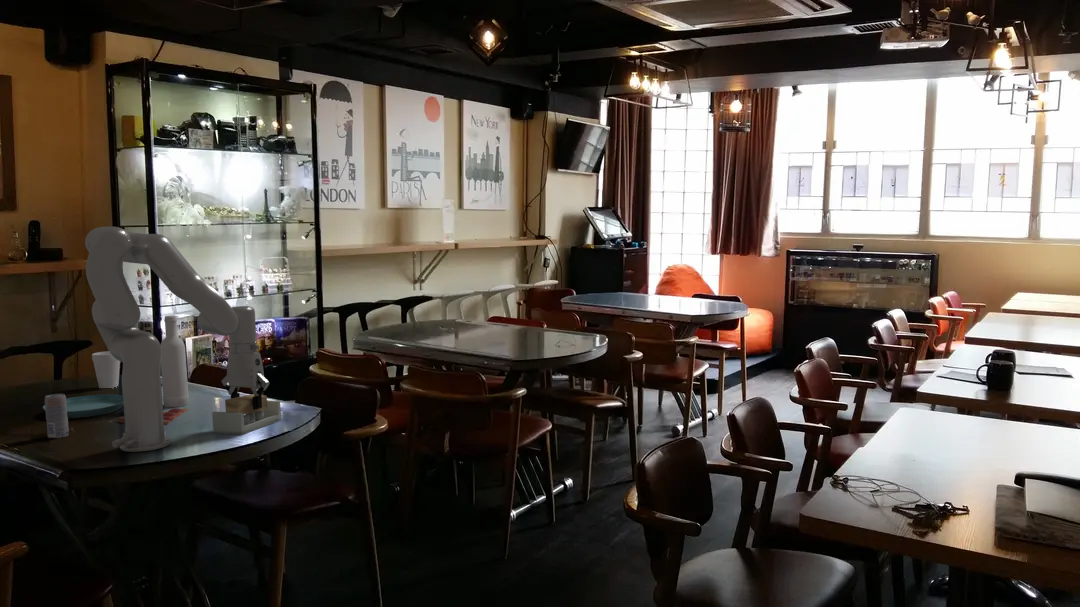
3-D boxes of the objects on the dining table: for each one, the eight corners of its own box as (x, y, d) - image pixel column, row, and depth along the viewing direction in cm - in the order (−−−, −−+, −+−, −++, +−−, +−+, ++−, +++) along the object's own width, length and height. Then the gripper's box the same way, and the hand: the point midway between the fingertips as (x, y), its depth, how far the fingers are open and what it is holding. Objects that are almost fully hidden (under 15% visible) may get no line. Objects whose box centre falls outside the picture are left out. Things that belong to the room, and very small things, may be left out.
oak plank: (238, 415, 246) (237, 401, 245) (225, 413, 249) (225, 399, 249) (267, 409, 254) (266, 395, 253) (255, 406, 257) (254, 393, 257)
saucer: (37, 424, 263) (36, 413, 262) (49, 408, 285) (49, 399, 285) (124, 415, 272) (123, 405, 271) (129, 401, 294) (129, 391, 294)
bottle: (190, 401, 289) (185, 313, 286) (187, 406, 282) (181, 316, 279) (165, 403, 287) (159, 315, 284) (161, 408, 280) (155, 317, 277)
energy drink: (64, 433, 249) (61, 392, 248) (72, 435, 246) (68, 394, 244) (44, 437, 245) (41, 396, 244) (52, 439, 242) (48, 398, 240)
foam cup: (99, 385, 323) (97, 351, 321) (125, 384, 324) (123, 350, 323) (91, 390, 313) (88, 355, 312) (118, 389, 315) (115, 354, 314)
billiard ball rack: (115, 417, 261) (164, 403, 280) (116, 424, 261) (165, 410, 280) (163, 421, 255) (210, 406, 274) (163, 428, 255) (210, 413, 274)
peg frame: (242, 435, 242) (240, 414, 241) (213, 432, 245) (212, 412, 245) (281, 420, 259) (280, 400, 258) (253, 418, 262) (252, 399, 262)
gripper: (276, 347, 250) (279, 407, 252) (227, 345, 256) (231, 403, 258) (259, 351, 243) (263, 412, 245) (210, 349, 249) (213, 409, 251)
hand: (246, 407), depth 251 cm, fingers closed on oak plank, 7 cm apart
